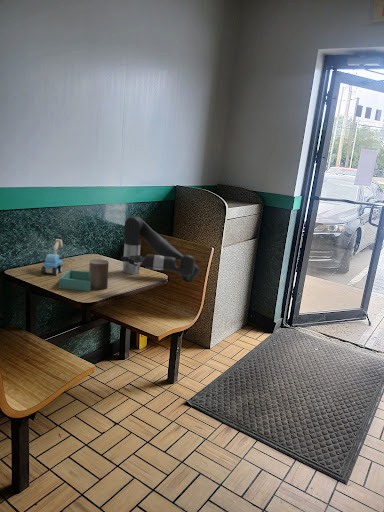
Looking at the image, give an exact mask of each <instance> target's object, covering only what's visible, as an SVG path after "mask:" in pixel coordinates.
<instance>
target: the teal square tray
mask: <svg viewBox="0 0 384 512" xmlns="http://www.w3.org/2000/svg"><path fill="white" fill-rule="evenodd" d="M58 288H59V289H66V290H73V291H74V290H77V291H84V292H91V281H89V271H85V270H75V269H71V268H70V269H68V270H67V272H65V273H64V274H62V276H60V277H59V278H58Z"/></svg>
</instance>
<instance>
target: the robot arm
mask: <svg viewBox="0 0 384 512" xmlns="http://www.w3.org/2000/svg"><path fill="white" fill-rule="evenodd" d="M123 227H124V228H123V239H124V247H123V255H122V256H121V257H120V261H121V262H123V263H122V272H123V273H124V274H128V275H137V274H140V266H143V265H144V268H145V269H147V270H154V271H155V270H156V271H158V270H159V271H171V272H175V273H178V274H179V275H178V276H179V277H180V278H181V279H182V280H183V281H184V282H186V283H191V282H193V281H194V279H195V278H196V277H197V276H198V275H199V273H200V272H201V269H200V267H199V266H198V265H197V264H196V263H195V262H196V260H195V257H193V255H191V254H190V255H189V254H184V255H183V254H182V253H181V252H180V251H179V250H177V249H176V248H175V247H174V246H173V245H172V243H170V242H168V240H167V239H166V238H164V237H162V236H161V235H160V234H159V233H157V232H156V231H155V230H153V229H152V227H150V225H149V224H148V223H146V222H145V221H144V219H143V218H141V217H140V216H138V215H133V216H130V217H128V218H127V219H126V220H125V221H124V226H123ZM140 236H141V237H142V238H143V240H145V241H146V243H147V244H148V246H149V247H150V248H151V249H152V251H153V252H155V253H156V254H151V253H147V254H146V255H145V256H142V255H141V243H142V239H141V238H140ZM177 261H179V262H180V266H179V267H178V266H177Z"/></svg>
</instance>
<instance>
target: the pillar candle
mask: <svg viewBox="0 0 384 512" xmlns="http://www.w3.org/2000/svg"><path fill="white" fill-rule="evenodd" d="M109 263H110V262H109V261H108V260H107V259H101V258H100V259H99V258H98V259H90V260H89V265H88V266H89V267H88V268H89V271H88V272H89V281H91V288H90V290H91V289H92V290H96V289H97V291H98V289H99V290H100V289H103V290H106V289H107V288H108V286H109V283H108V282H109V280H108V279H109V265H110V264H109ZM105 288H106V289H105ZM100 291H101V290H100Z"/></svg>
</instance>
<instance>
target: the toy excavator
mask: <svg viewBox="0 0 384 512" xmlns="http://www.w3.org/2000/svg"><path fill="white" fill-rule="evenodd" d="M62 247H63V240H62V239H59V238H58V239H57V238H56V239H55V244H54V245H53V252H52V253H48V254H46V256H45V260H44V262H43V265H42V266H41V268H40V271H41V274H52V275H54V276H57V275H58V274H59V273H62V272H63V269H64V268H63V267H64V266H63V265H62V264H63V261H62V260H61V259H60V255H59V254H58V248H62Z"/></svg>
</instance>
